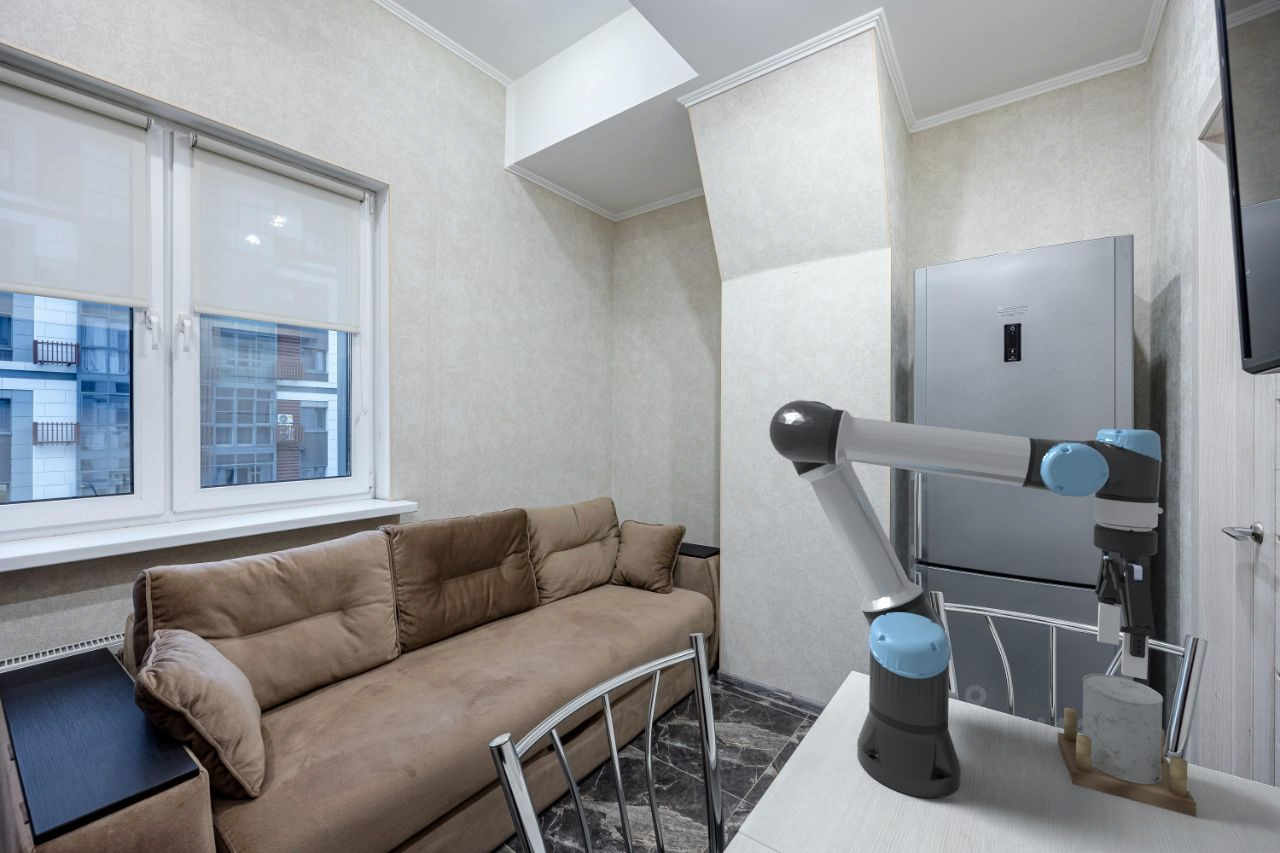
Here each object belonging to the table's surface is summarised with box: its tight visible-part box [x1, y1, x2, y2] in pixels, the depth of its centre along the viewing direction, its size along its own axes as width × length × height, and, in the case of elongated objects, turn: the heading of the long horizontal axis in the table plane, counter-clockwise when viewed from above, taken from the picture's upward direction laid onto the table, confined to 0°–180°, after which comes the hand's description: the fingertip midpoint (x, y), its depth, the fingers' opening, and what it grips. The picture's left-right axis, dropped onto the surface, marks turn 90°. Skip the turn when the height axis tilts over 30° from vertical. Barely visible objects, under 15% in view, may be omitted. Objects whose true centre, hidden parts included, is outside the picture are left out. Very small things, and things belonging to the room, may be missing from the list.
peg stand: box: [1057, 707, 1197, 818], centre depth 86 cm, size 14×12×7 cm
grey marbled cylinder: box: [1081, 673, 1164, 785], centre depth 85 cm, size 10×10×12 cm
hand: (1120, 658), depth 85 cm, fingers open, 13 cm apart
